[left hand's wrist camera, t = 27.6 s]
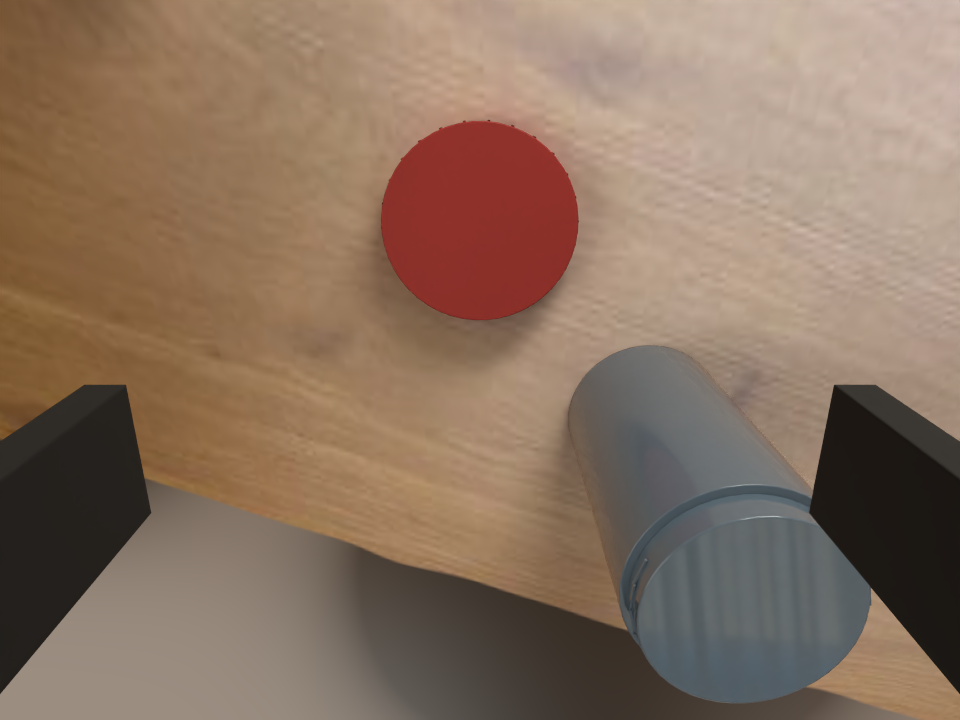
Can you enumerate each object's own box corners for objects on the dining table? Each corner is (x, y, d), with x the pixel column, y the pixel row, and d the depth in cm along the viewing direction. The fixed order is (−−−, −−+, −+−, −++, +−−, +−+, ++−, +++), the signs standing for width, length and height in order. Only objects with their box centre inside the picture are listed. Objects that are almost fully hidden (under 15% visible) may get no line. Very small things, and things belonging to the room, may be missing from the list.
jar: (630, 507, 48) (722, 746, 30) (537, 411, 45) (576, 609, 27) (748, 420, 46) (928, 622, 27) (658, 314, 43) (789, 458, 25)
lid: (432, 83, 38) (429, 81, 36) (609, 175, 40) (616, 178, 38) (355, 263, 42) (349, 270, 40) (521, 341, 44) (523, 351, 42)
